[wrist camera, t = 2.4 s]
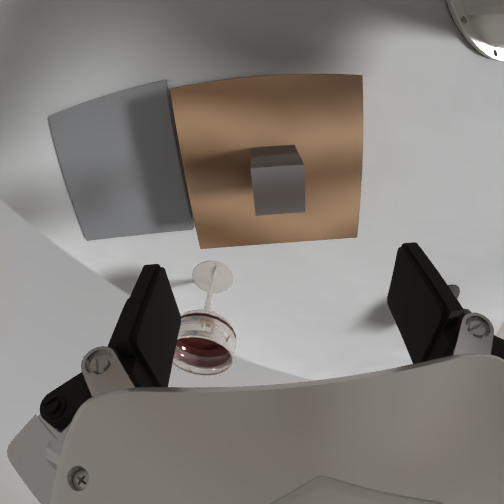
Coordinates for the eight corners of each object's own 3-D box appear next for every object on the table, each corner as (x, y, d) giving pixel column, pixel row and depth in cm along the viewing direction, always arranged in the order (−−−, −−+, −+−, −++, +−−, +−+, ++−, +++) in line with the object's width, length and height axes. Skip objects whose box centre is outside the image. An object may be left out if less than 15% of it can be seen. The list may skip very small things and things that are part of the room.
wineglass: (177, 284, 37) (155, 361, 28) (199, 245, 34) (178, 324, 24) (224, 305, 39) (216, 383, 29) (250, 270, 36) (248, 352, 26)
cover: (173, 87, 20) (147, 94, 15) (358, 74, 19) (389, 78, 14) (202, 242, 28) (190, 285, 23) (354, 231, 27) (374, 271, 22)
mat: (51, 115, 25) (48, 116, 24) (166, 79, 24) (164, 80, 23) (88, 238, 34) (86, 240, 33) (193, 226, 33) (192, 229, 32)
